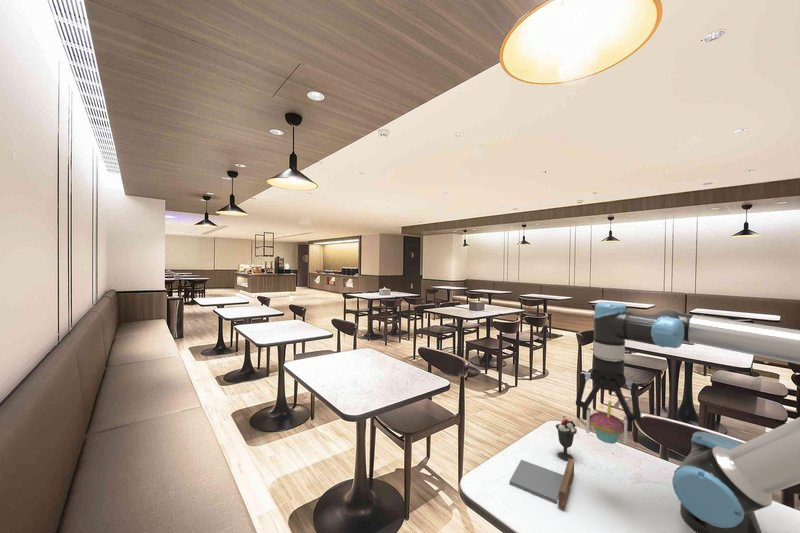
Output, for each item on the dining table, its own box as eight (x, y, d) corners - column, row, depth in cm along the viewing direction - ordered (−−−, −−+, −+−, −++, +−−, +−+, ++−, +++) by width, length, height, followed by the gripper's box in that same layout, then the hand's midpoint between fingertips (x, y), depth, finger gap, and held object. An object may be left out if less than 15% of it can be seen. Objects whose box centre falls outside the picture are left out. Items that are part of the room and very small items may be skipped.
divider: (573, 475, 102) (574, 459, 102) (564, 511, 87) (565, 493, 87) (568, 473, 103) (568, 457, 103) (558, 508, 88) (558, 490, 88)
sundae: (556, 460, 109) (557, 417, 109) (553, 449, 116) (554, 408, 115) (578, 464, 107) (579, 420, 107) (573, 453, 114) (574, 411, 113)
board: (564, 478, 101) (564, 475, 101) (556, 503, 90) (556, 500, 90) (521, 462, 108) (521, 459, 108) (509, 484, 98) (509, 480, 98)
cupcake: (630, 449, 87) (631, 405, 87) (595, 445, 88) (596, 402, 88) (615, 432, 95) (616, 392, 95) (584, 429, 97) (585, 390, 97)
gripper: (654, 361, 88) (651, 442, 89) (569, 348, 100) (567, 419, 101) (656, 368, 82) (653, 456, 83) (565, 353, 94) (563, 429, 95)
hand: (606, 436), depth 92 cm, fingers closed on cupcake, 8 cm apart
